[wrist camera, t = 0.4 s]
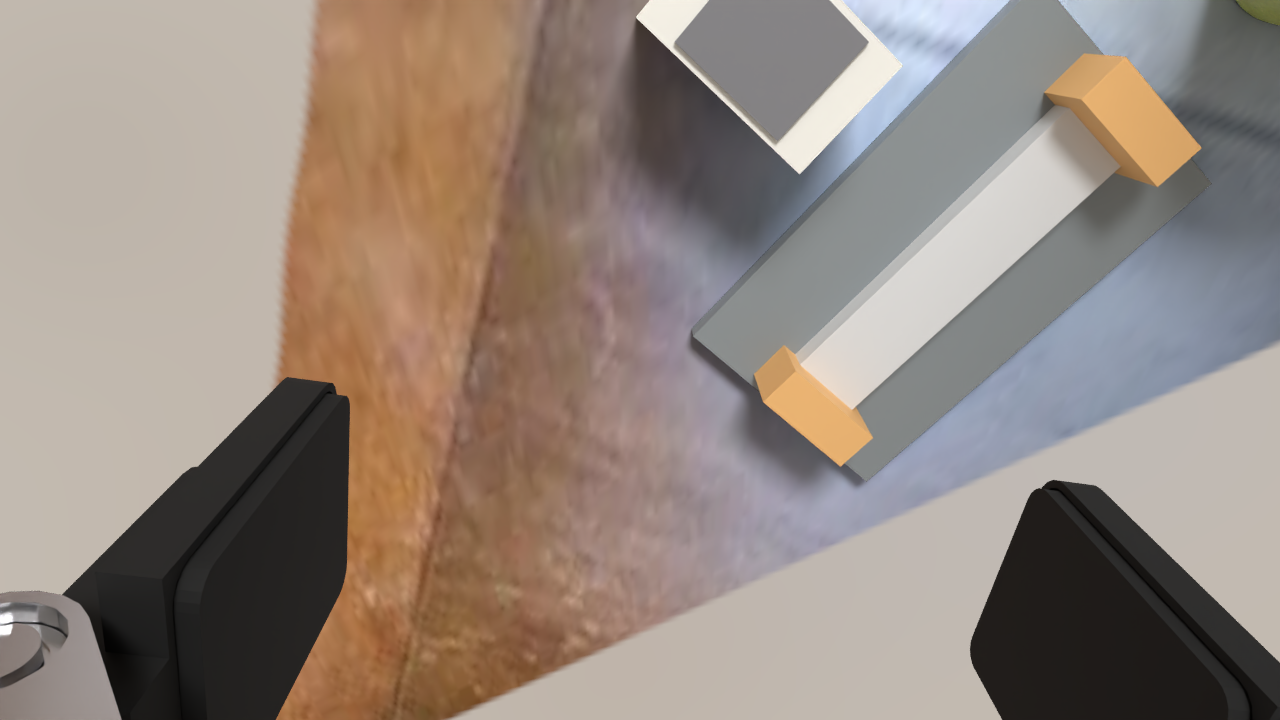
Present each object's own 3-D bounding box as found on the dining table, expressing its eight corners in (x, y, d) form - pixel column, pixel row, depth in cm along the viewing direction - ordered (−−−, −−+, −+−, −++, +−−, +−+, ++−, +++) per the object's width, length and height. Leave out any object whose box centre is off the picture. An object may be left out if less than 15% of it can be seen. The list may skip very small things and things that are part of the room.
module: (720, -88, 31) (739, -111, 25) (858, 57, 33) (904, 65, 27) (636, 17, 32) (636, 17, 27) (773, 149, 35) (800, 175, 29)
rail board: (1029, -20, 32) (1080, -24, 28) (1196, 179, 35) (1262, 198, 31) (691, 328, 38) (697, 362, 34) (861, 471, 41) (883, 515, 37)
